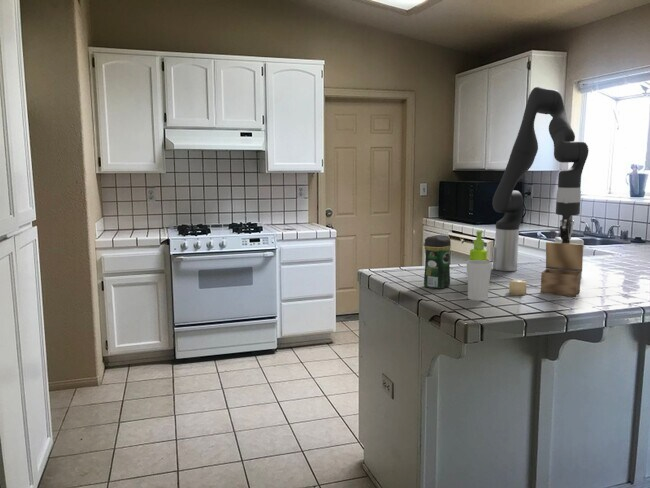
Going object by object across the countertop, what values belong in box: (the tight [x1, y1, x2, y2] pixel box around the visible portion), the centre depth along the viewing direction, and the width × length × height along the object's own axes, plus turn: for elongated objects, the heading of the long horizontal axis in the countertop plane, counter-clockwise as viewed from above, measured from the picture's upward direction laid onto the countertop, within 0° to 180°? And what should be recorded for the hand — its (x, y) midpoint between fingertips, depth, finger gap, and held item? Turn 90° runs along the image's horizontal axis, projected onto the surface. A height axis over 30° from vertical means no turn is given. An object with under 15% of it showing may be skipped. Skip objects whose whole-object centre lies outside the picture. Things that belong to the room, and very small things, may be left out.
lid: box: [545, 241, 584, 273], centre depth 184 cm, size 12×10×1 cm
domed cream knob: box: [508, 279, 528, 296], centre depth 182 cm, size 6×6×4 cm
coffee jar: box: [423, 234, 452, 290], centre depth 191 cm, size 10×8×19 cm
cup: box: [466, 259, 493, 302], centre depth 174 cm, size 8×8×12 cm
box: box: [540, 268, 582, 298], centre depth 183 cm, size 11×9×7 cm
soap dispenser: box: [469, 230, 488, 261], centre depth 192 cm, size 6×7×20 cm
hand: (565, 250), depth 185 cm, fingers closed
